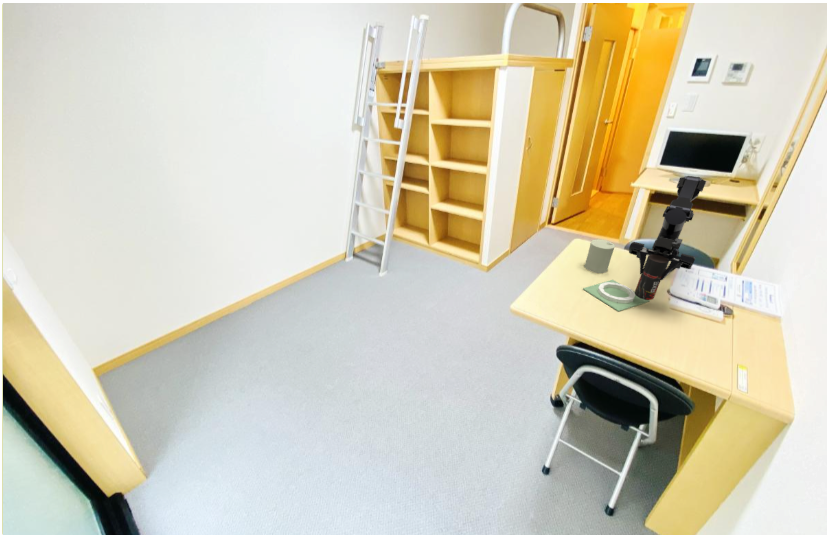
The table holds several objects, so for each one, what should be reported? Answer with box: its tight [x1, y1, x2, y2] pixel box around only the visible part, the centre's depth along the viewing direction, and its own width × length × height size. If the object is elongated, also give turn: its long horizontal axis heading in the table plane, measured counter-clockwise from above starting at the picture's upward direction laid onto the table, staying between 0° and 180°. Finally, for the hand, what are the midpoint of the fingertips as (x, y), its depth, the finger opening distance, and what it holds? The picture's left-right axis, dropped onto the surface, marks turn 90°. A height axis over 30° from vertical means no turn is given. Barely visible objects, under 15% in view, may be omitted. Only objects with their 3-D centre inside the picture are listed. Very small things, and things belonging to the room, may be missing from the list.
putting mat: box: [582, 279, 651, 313], centre depth 130 cm, size 16×16×2 cm
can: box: [583, 238, 616, 274], centre depth 146 cm, size 9×9×12 cm
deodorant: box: [634, 255, 670, 301], centre depth 120 cm, size 6×6×15 cm
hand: (650, 276), depth 118 cm, fingers closed on deodorant, 6 cm apart
